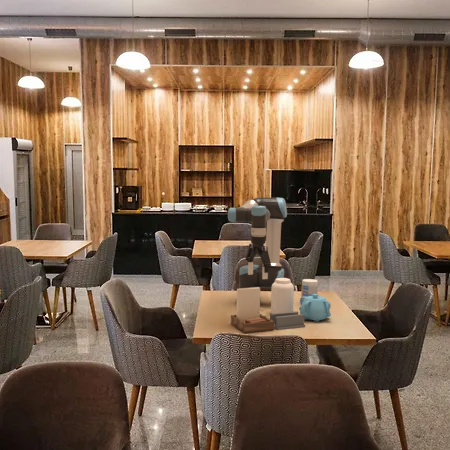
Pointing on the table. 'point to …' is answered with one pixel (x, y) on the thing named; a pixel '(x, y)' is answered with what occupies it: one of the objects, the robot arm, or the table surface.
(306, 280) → the supplement tub
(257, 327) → the brown wooden tray
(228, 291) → the table surface
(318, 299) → the decorative pot
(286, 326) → the slot holder
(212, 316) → the table surface
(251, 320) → the cherry offcut
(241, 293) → the tall board
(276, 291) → the white jar
